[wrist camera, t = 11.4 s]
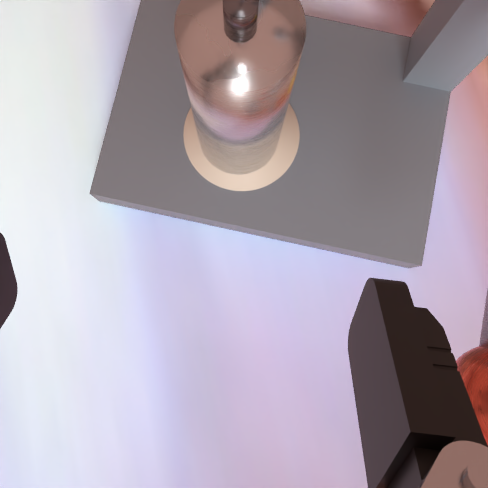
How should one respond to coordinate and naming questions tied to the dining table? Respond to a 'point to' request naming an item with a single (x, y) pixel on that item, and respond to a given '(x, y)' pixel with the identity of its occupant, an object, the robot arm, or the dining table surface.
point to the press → (302, 135)
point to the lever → (477, 375)
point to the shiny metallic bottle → (239, 75)
